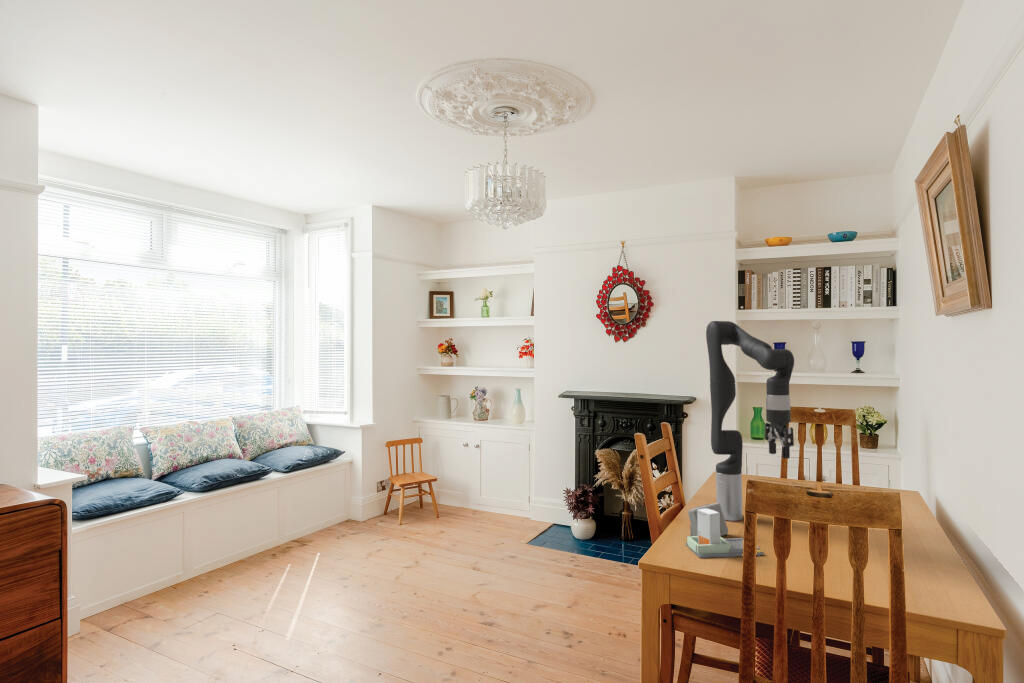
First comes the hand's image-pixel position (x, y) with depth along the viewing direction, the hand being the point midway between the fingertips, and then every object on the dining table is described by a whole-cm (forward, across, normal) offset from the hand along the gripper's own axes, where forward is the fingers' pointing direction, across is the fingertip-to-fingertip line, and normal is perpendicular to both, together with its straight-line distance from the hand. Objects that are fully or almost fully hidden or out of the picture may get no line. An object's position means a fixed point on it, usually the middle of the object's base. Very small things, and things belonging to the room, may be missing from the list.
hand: (779, 456), depth 195 cm
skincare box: (+28, -8, +28) cm, 40 cm away
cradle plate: (+27, -8, +19) cm, 34 cm away
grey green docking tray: (+28, -8, +23) cm, 37 cm away
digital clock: (+28, +4, +23) cm, 37 cm away
